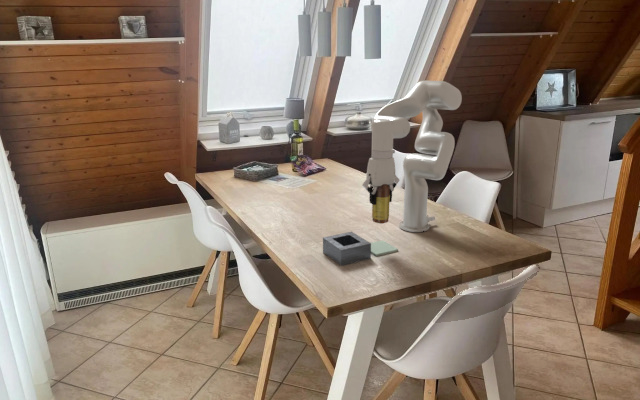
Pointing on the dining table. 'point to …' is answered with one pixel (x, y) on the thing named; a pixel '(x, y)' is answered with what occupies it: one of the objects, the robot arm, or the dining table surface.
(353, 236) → the collar
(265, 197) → the dining table surface
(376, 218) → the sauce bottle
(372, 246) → the mat
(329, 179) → the dining table surface
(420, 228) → the robot arm
